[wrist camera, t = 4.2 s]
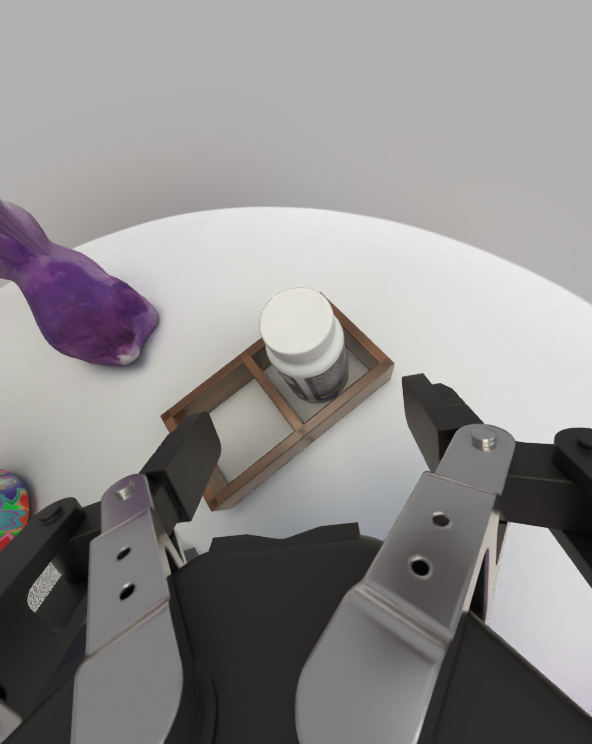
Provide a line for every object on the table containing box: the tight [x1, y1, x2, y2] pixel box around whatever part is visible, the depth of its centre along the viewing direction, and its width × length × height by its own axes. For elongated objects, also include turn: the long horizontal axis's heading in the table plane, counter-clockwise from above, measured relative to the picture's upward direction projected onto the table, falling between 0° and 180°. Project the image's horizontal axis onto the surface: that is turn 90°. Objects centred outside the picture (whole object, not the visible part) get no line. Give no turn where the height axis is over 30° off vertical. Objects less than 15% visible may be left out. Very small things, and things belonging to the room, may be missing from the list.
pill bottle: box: [259, 287, 348, 402], centre depth 19 cm, size 5×5×8 cm
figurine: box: [0, 199, 158, 365], centre depth 22 cm, size 9×10×15 cm
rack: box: [161, 292, 395, 512], centre depth 22 cm, size 8×15×3 cm, turn 127°
